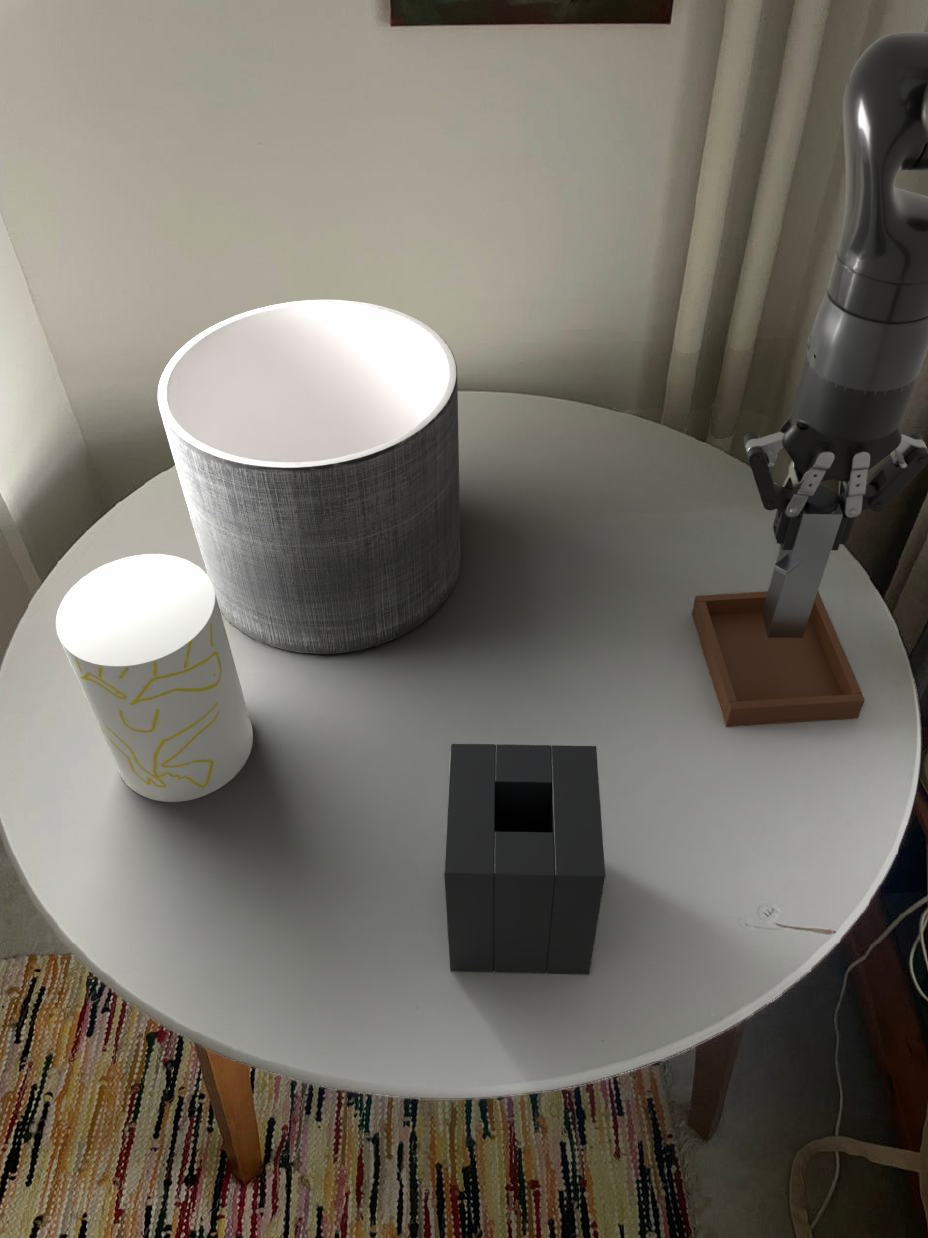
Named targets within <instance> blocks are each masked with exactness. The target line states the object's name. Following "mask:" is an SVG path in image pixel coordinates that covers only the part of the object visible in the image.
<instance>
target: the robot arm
mask: <svg viewBox="0 0 928 1238" xmlns="http://www.w3.org/2000/svg"><path fill="white" fill-rule="evenodd" d="M843 92H844V93H843V99H842V131H843V132H842V133H843V135H842V136H843V148H844V149H843V150H844V170H845V172H844V174H845V175H844V177H845V179H844V204H843V217H842V224H841V231H840V236H839V240H838V245H837V249H836V252H835V256H834V260H833V264H832V268H831V272H830V275H829V279H828V284H827V287H826V290H825V293H824V296H823V298H822V300H821V303H820V305H819V307H818V309H817V312H816V316H815V319H814V322H813V325H812V330H811V331H810V334H809V335H808V339H807V344H806V347H807V348H806V352H805V357H804V361H803V364H802V368H801V372H800V377H799V381H798V385H797V388H796V391H795V396H794V399H793V404H792V409H791V412H790V415H789V416H788V417H787V419H786V420H785V421H784V422H783V423H782V424H781V426H780V429H779V431H777V432H775V433H771V434H769V435H765V436H762V437H761V436H760V434H759V433H758V432H749V433H747V434H745V436H744V437H743V444H744V448H745V452H746V456H747V460H748V464H749V466H750V469H751V472H752V475H753V476H752V477H753V478H754V481H755V485H756V488H757V491H758V493H759V494H758V495H759V497H760V501H761V504H762V506H763V509H764V510H766V511H769V512H773V511H775V510H776V513H775V515H774V520H773V524H772V530H773V534H774V538H775V542H776V544H779V545H780V546H781V549H782V550H791V549H792V546H793V543H794V540H795V536H796V533H797V529H798V526H799V522H800V519H801V516H800V513H801V511H802V509H803V507H804V506H805V504H806V502H807V500H808V498H809V497H812V496H813V495H814V493H815V491H816V490H817V488H818V486H819V485H821V482H824V481H825V482H827V481H831V480H833V481H838V490H837V493H838V495H839V498H840V501H839V505H840V508H841V511H842V514H843V516H842V519H841V522H840V525H839V528H838V531H837V534H836V537H835V540H834V543H833V547H832V550H831V552H832V551H835V552H836V551H838V550H839V548H840V545H845V544H846V543H847V541H849V538H850V534H851V533H852V529H853V526H854V523H855V521H856V517H858V516H859V515H861V513H862V512H864V511H866V510H871V511H873V512H876V513H878V512H882V511H884V510H885V509H886V508H888V506H889V505H890V504H891V503H892V502H893V501H894V500H895V499H896V498H897V496H899V495H900V494H901V492H902V491H904V489H905V488H906V487H907V486H908V485H909V484H910V483H911V482H912V481H913V480H914V479H915V478H916V476H918V474H920V473H921V472H922V470H923V469H924V468H925V467H926V466H927V465H928V447H927V445H926V442H925V441H924V439H923V437H922V435H921V434H920V433H911V434H909V435H905V434H903V433H902V432H901V426H902V424H903V421H904V418H905V415H906V413H907V411H908V410H907V409H908V406H909V404H910V402H911V398H912V395H913V393H914V389H915V387H916V384H917V381H918V378H919V376H920V372H921V369H922V367H923V364H924V362H925V359H926V356H927V352H928V196H927V195H925V194H921V193H916V192H912V191H909V190H906V189H903V188H900V187H898V186H896V181H897V178H898V174H899V172H900V171H928V31H899V32H893V33H892V32H891V33H889V34H886V35H883V36H881V37H879V38H877V39H876V40H874V42H872V43H871V44H870V45H869V46H868V47H867V48H866V49H865V50H864V51H863V52H862V54H861V55H860V56H859V57H858V59H857V61H856V62H855V63H854V66H853V67H852V69H851V71H850V73H849V76H848V78H847V81H846V84H845V87H844V91H843ZM783 449H784V450H785V451H786V453H787V454H788V456H789V458H790V459H791V461H790V463H789V466H788V472H787V476H786V478H785V480H784V482H783V483H782V486H781V485H779V484H776V483H775V481H774V478H773V475H772V472H771V469H770V468H773V467H774V466H775V464H776V462H777V461H778V457H779V453H780V452H781V451H782V450H783ZM886 457H887V458H886ZM885 458H886V459H885ZM884 459H885V460H884ZM882 460H884V461H883V462H882V463H881V465H880V466H879V467H878V468H877V469H876V470H875V472H874V473H872V475H871V476H870V477H869V478H868V474H869V473H868V472H869V471H870V470H871V469H872V468H873V467H875V466H876V465H877V464H879V463H880V462H881V461H882Z"/></svg>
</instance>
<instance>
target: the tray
mask: <svg viewBox="0 0 928 1238" xmlns="http://www.w3.org/2000/svg"><path fill="white" fill-rule="evenodd" d="M767 593H768V590H766V591H765V590H764V591H749V592H732V593H717V594H716V593H715V594H700V595H698V594H697V595H695V596H694V599H693V600H694V601H693V605H692V611H691V616H692V617H691V618H692V620H693V623H694V627H695V630H696V633H697V636H698V637H697V638H698V640H699V643H700V646H701V650H702V654H703V656H704V660H705V663H706V666H707V669H708V673H709V676H710V679H711V683H712V687H713V690H714V693H715V696H716V699H717V703H718V706H719V709H720V712H721V716H722V719H723V722H724V725H725V727H726V728H729V727H730V728H732V727H746V726H748V727H749V726H764V725H779V724H780V725H781V724H794V723H808V722H809V723H810V722H824V721H825V722H826V721H839V720H842V721H843V720H853V719H854V720H855V719H859V717H860V714H861V712H862V710H863V707H864V705H865V702H866V698H865V697H864V694H863V692H862V688H861V686H860V685H859V684H860V683H859V682H858V680H857V678H856V675H855V673H854V670H853V668H852V666H851V664H850V661H849V659H848V656H847V654H846V651H845V650H844V647H843V645H842V642H841V640H840V637H839V636H838V633H837V631H836V629H835V626H834V624H833V622H832V619H831V617H830V614H829V613H828V610H827V608H826V605H825V603H824V601H823V598H822V596H821V594H820V592H819V590H818V592H817V595H816V598H815V601H814V604H813V607H812V610H811V613H810V616H809V619H808V623H807V626H806V629H805V632H804V635H803V638H768V637H767V633H766V628H765V624H764V620H763V616H762V611H763V607H764V603H765V600H766V596H767Z"/></svg>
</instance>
